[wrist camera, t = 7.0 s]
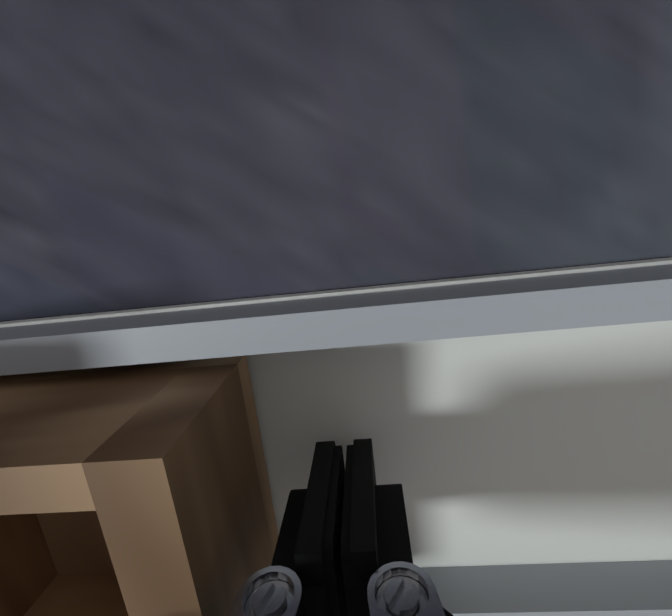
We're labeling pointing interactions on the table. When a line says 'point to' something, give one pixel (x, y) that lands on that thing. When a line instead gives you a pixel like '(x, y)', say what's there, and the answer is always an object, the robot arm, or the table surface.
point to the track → (454, 416)
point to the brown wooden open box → (132, 490)
